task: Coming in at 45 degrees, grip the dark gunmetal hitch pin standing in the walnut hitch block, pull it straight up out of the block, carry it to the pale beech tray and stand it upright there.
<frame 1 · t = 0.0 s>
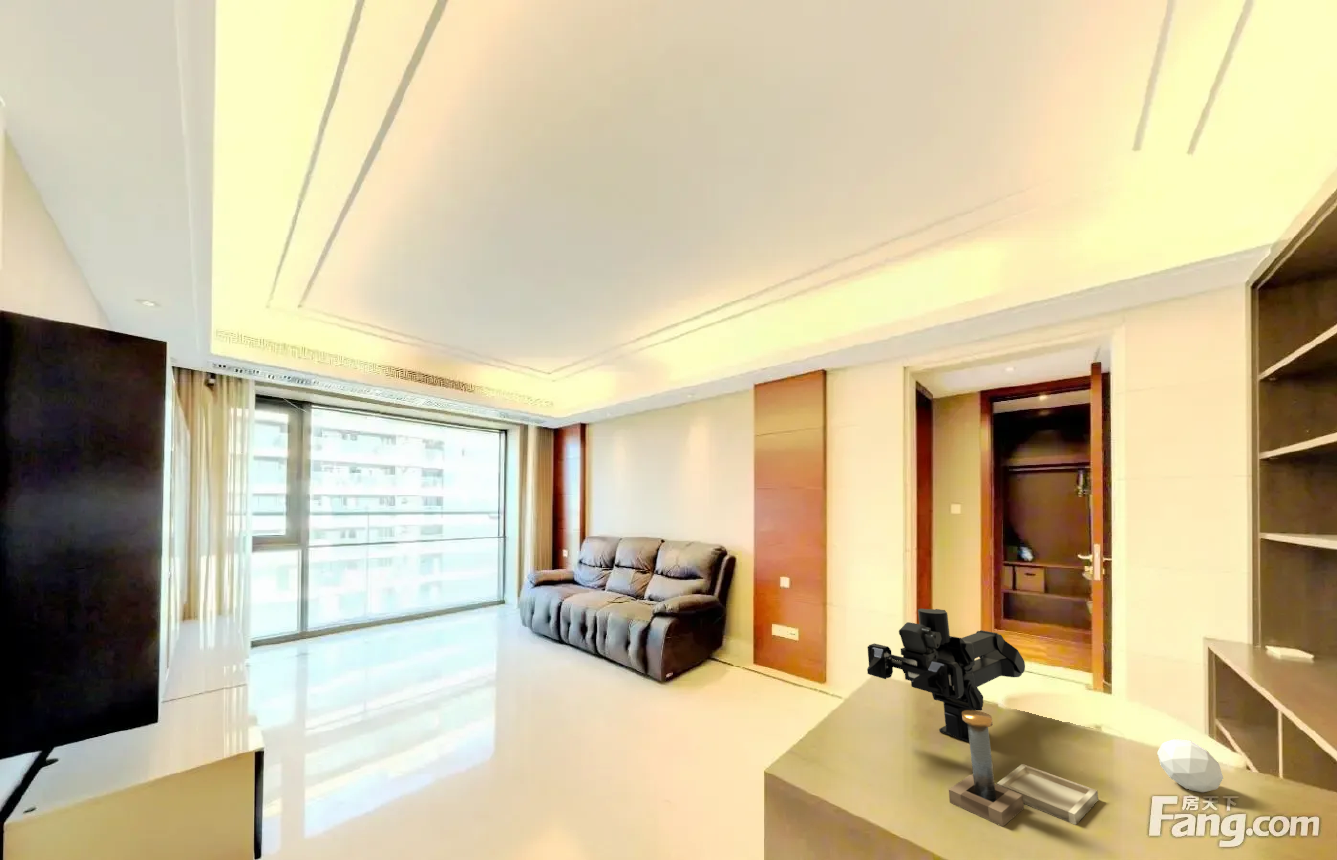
hand: (889, 677, 96), 17 cm above the table, tool horizontal, fingers open, 9 cm apart
geometric ball: (1193, 789, 86), on the table
hitch pin: (981, 759, 83), in the hitch block
tray: (1047, 796, 84), on the table
hitch block: (986, 805, 82), on the table
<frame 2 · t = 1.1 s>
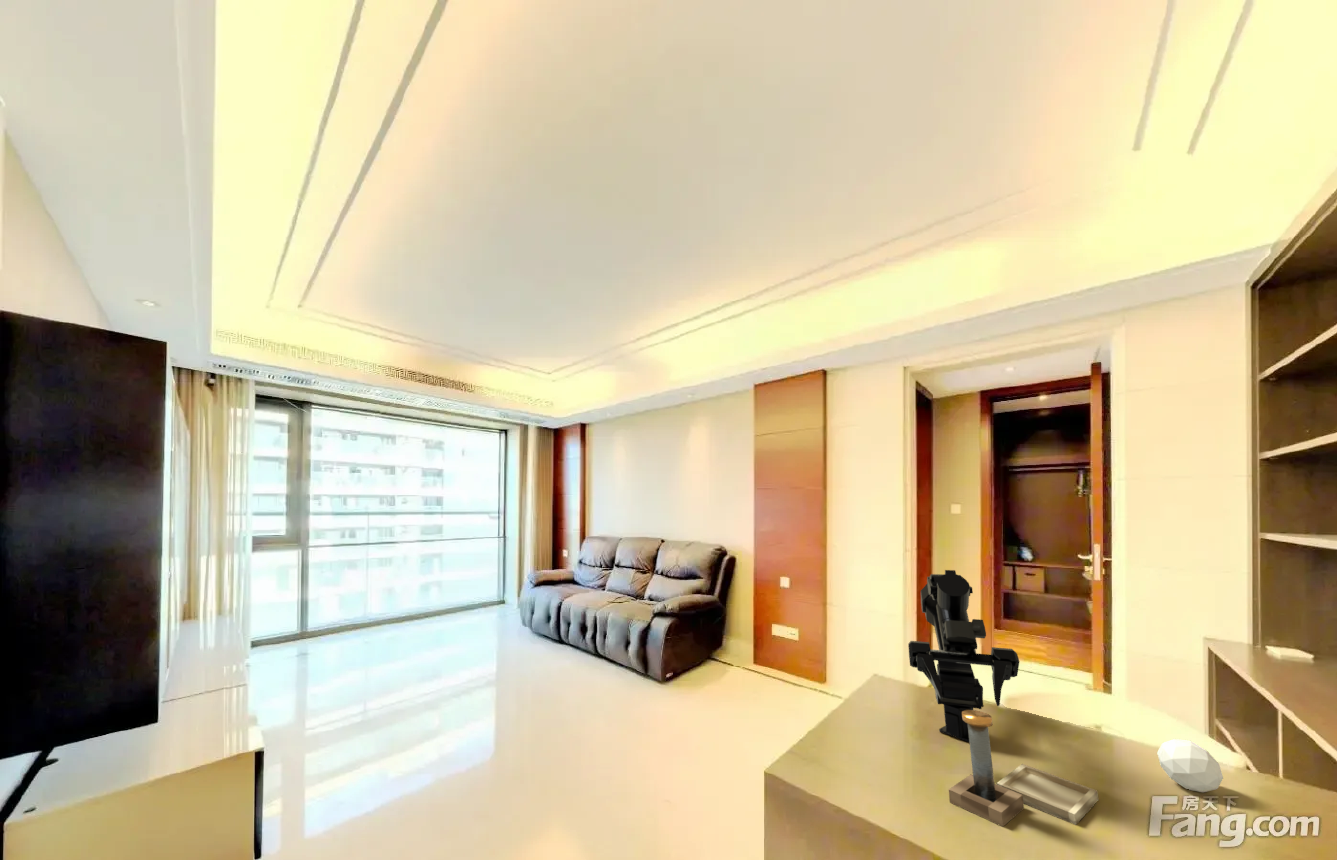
hand: (969, 701, 91), 13 cm above the table, tool tilted 45°, fingers open, 9 cm apart
nothing on the table moved.
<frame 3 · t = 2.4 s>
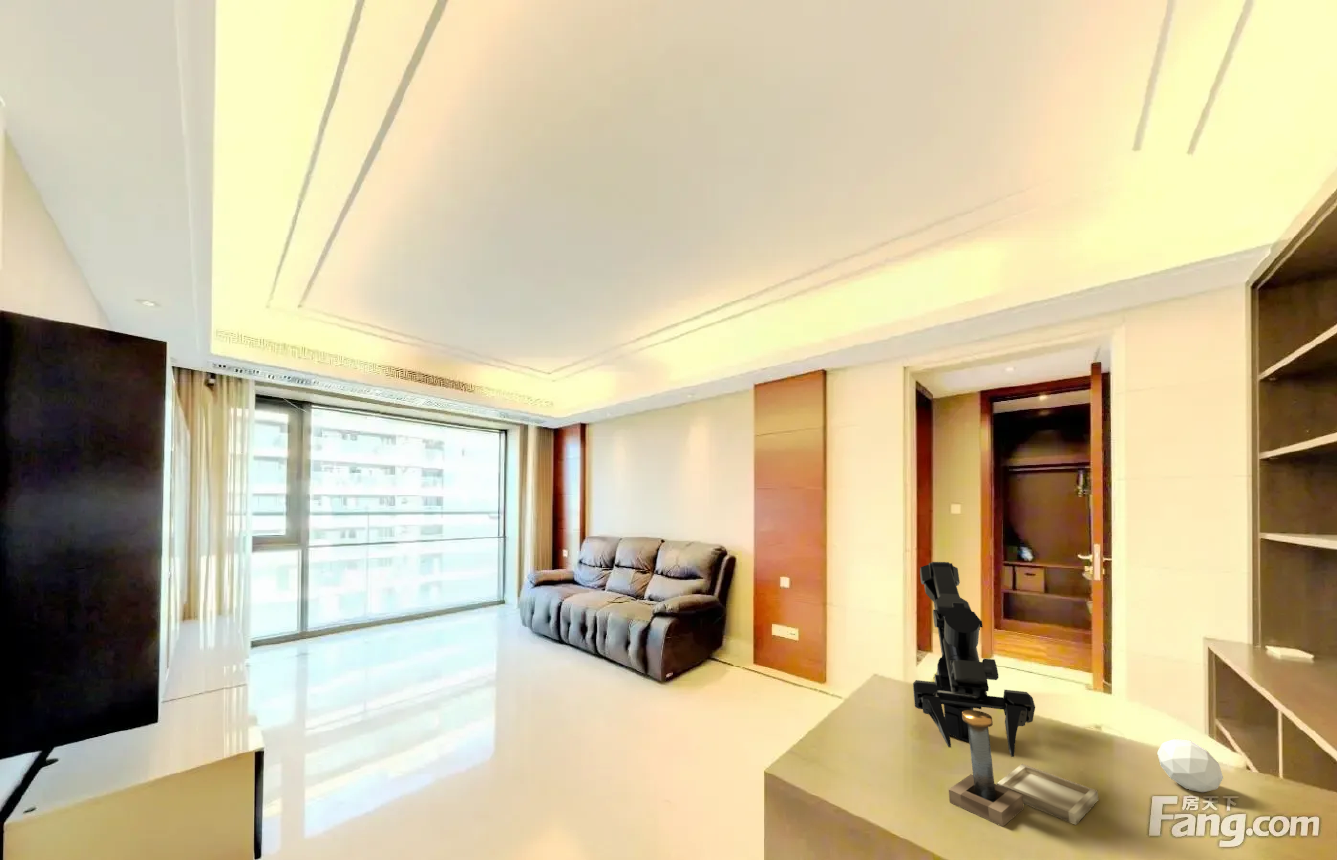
hand: (980, 751, 83), 8 cm above the table, tool tilted 45°, fingers open, 9 cm apart
nothing on the table moved.
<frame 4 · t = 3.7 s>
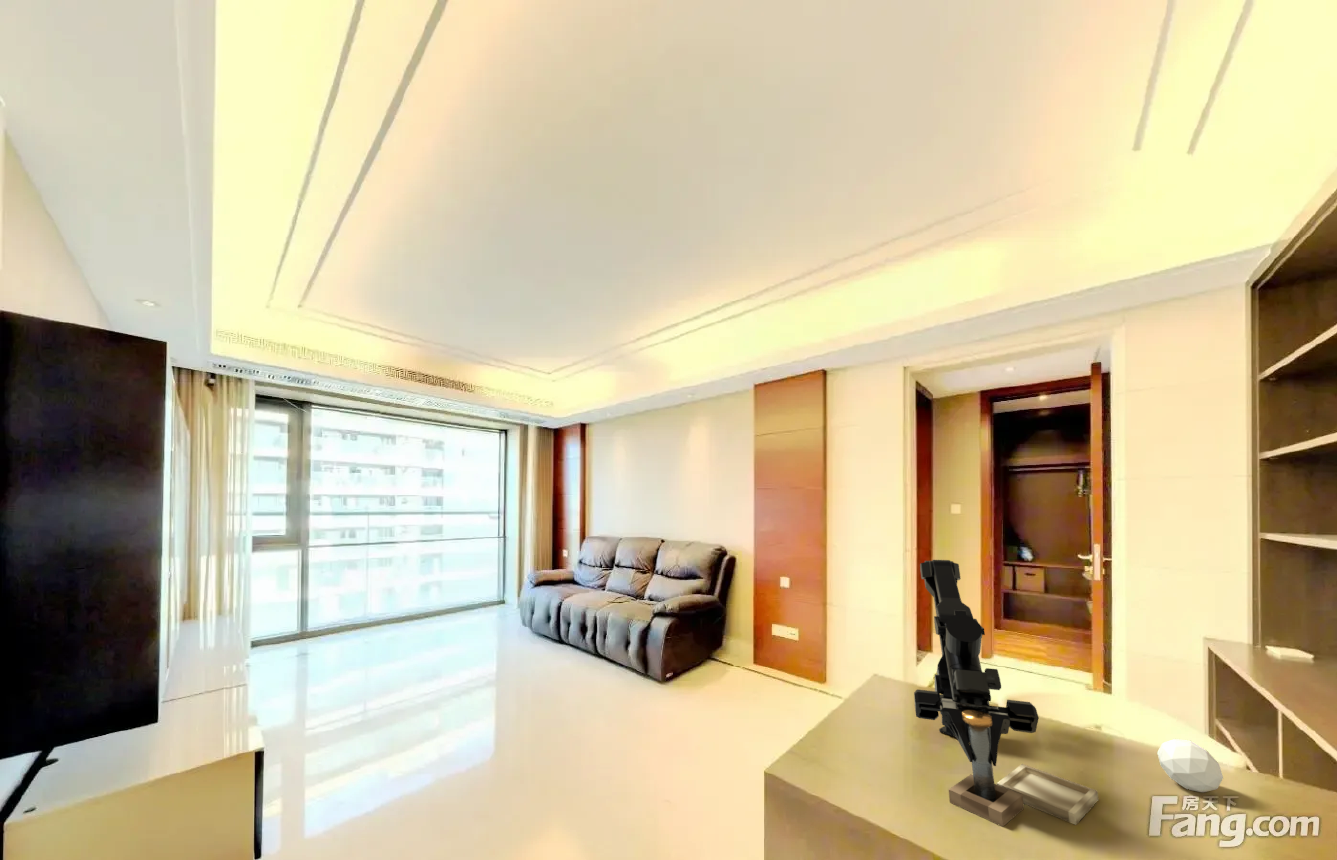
hand: (982, 763, 82), 7 cm above the table, tool tilted 45°, fingers closed on hitch pin, 3 cm apart
hitch pin: (981, 759, 83), in the hitch block, touching gripper
everything else where it was.
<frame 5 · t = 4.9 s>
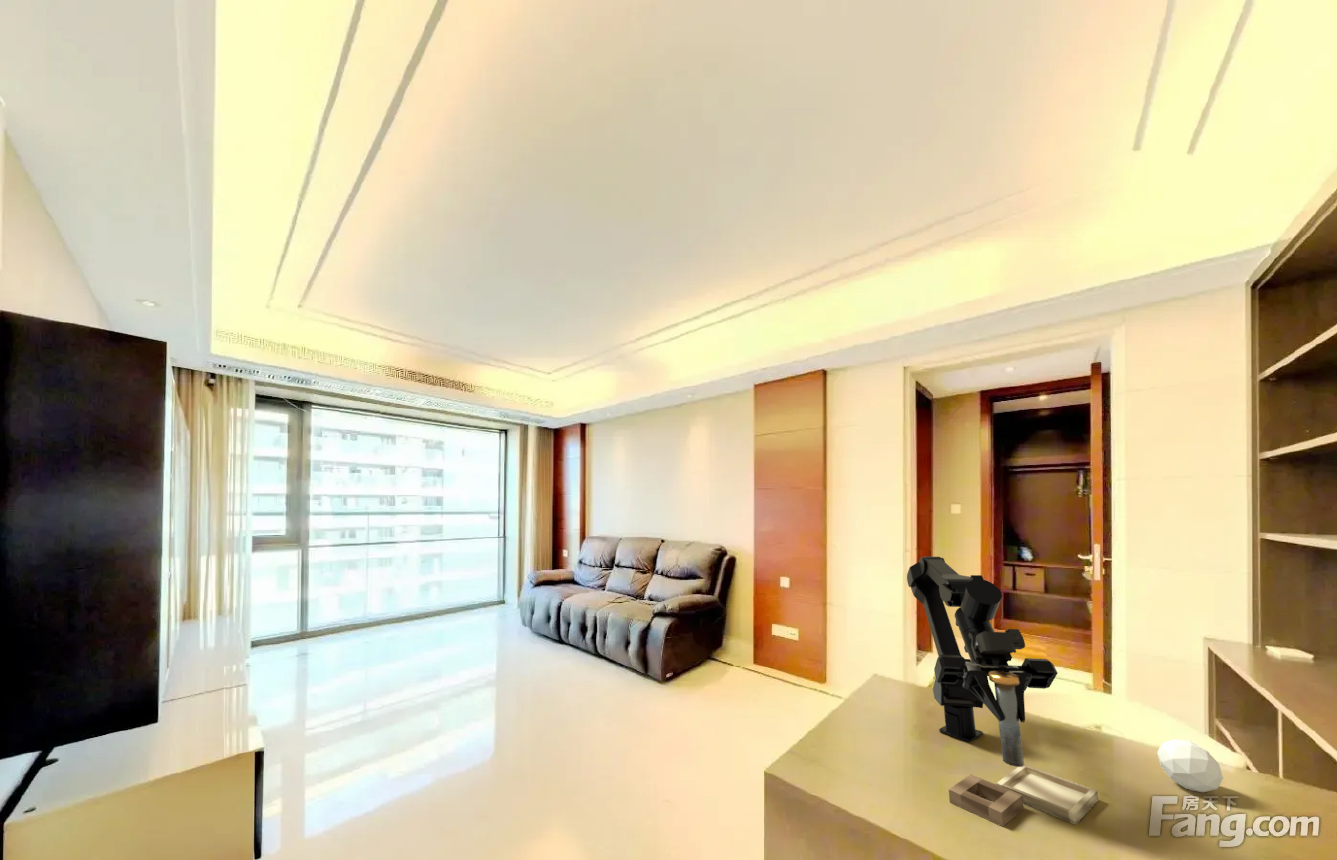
hand: (1012, 720, 83), 13 cm above the table, tool tilted 45°, fingers closed on hitch pin, 3 cm apart
hitch pin: (1008, 718, 84), point 13 cm above the table, touching gripper
everything else where it was.
when the fingers open (8 cm above the table, at t = 6.4 s): hitch pin stays where it is, resting on tray.
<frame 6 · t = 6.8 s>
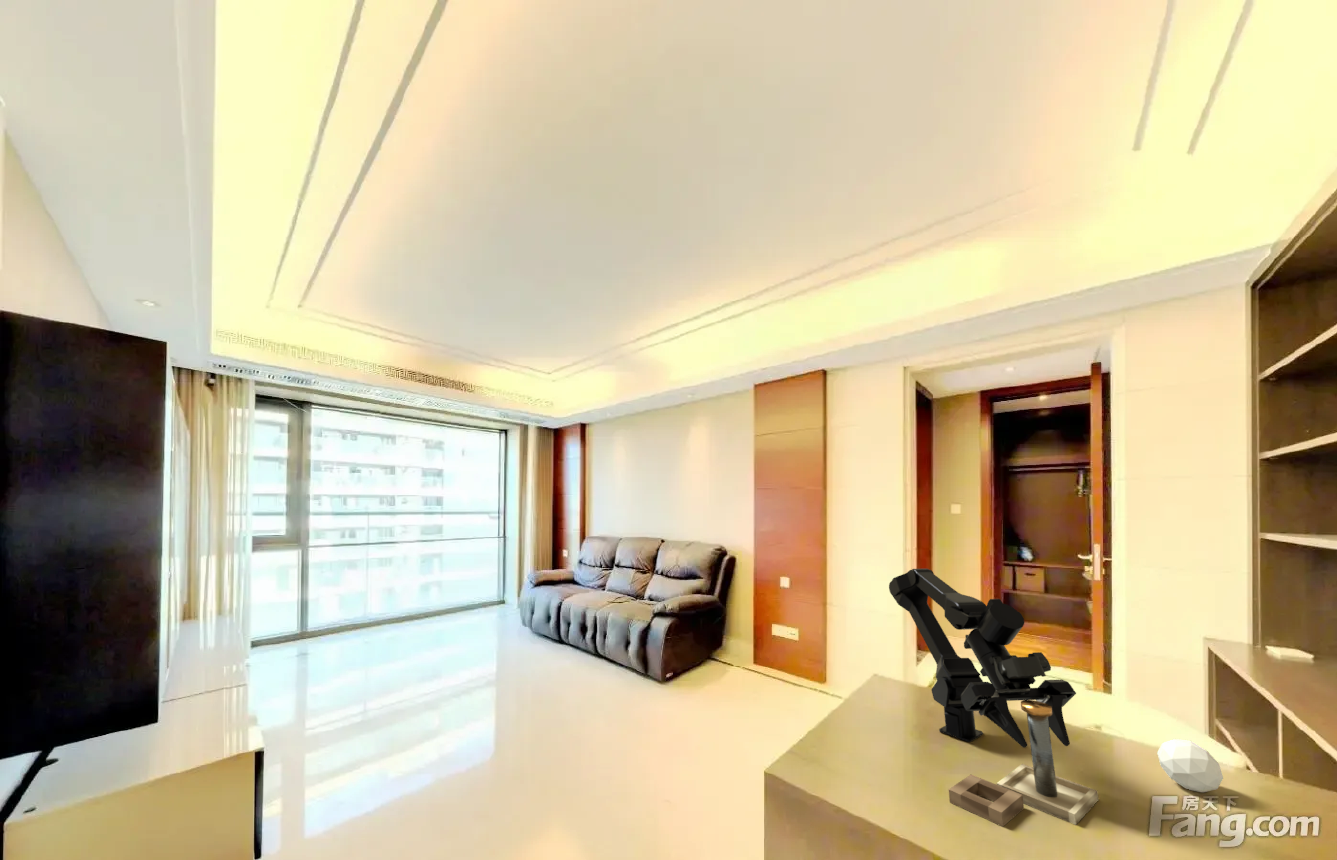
hand: (1046, 746, 84), 9 cm above the table, tool tilted 45°, fingers open, 7 cm apart
hitch pin: (1041, 748, 85), point 8 cm above the table, touching tray
everything else where it was.
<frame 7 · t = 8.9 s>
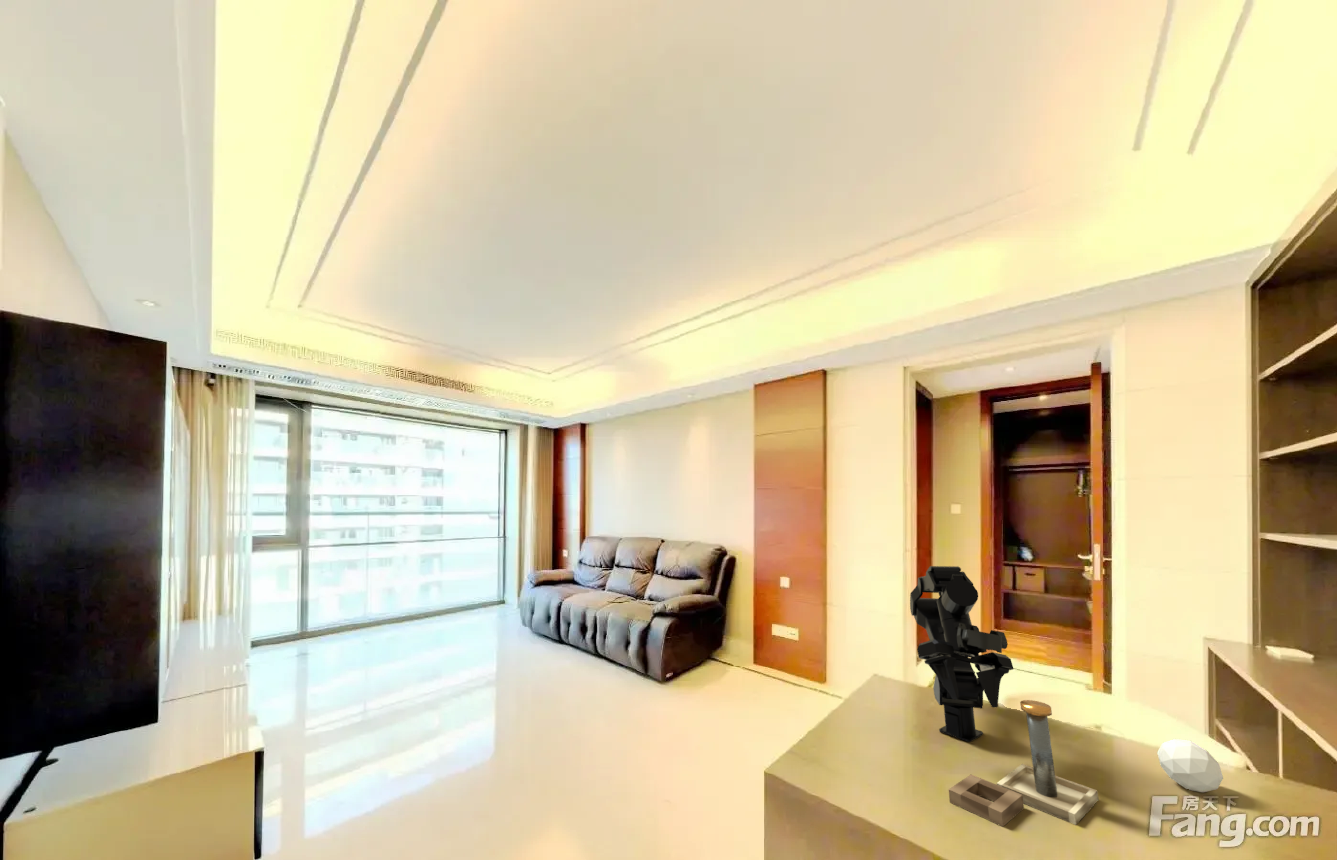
hand: (975, 703, 97), 11 cm above the table, tool tilted 30°, fingers open, 9 cm apart
nothing on the table moved.
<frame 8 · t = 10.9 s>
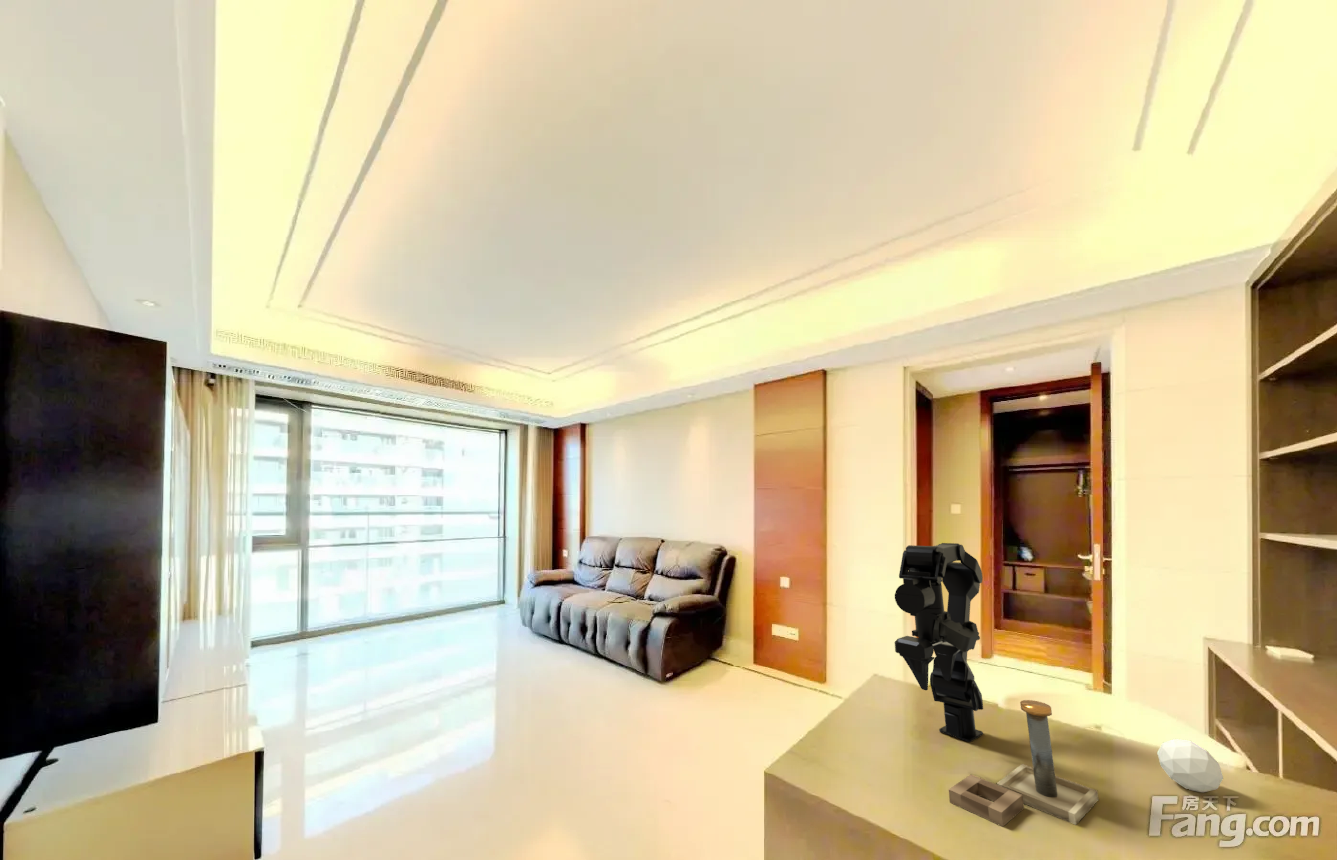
hand: (936, 685, 101), 13 cm above the table, tool pointing down, fingers open, 9 cm apart
nothing on the table moved.
at the end: hitch pin inside the target area on the tray (0.0 cm from its centre), point 7.6 cm above the tray's base; hitch pin tilted 0°; the gripper is holding nothing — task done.
